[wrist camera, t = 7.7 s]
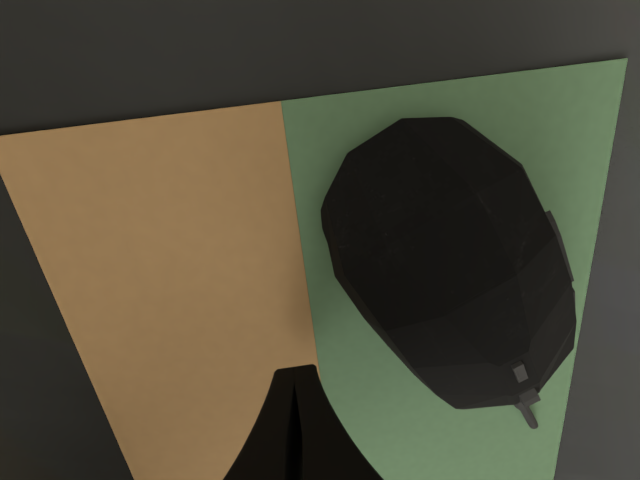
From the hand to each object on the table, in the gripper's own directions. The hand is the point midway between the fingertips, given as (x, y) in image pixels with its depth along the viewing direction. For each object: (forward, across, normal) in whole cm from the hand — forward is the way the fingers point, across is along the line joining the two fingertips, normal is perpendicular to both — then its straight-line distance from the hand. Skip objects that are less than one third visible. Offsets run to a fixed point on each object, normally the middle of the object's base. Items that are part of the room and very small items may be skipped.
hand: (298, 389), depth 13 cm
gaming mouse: (+2, -6, -1) cm, 7 cm away
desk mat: (+2, -2, +1) cm, 3 cm away
